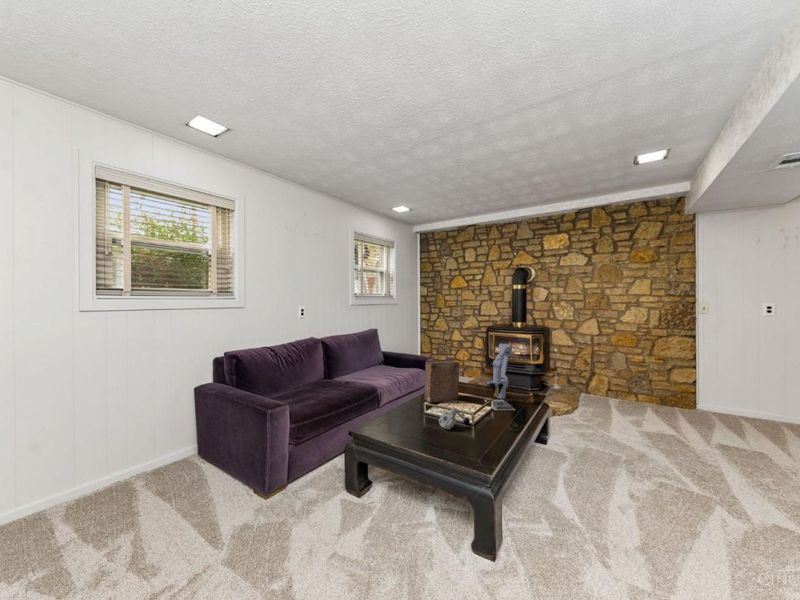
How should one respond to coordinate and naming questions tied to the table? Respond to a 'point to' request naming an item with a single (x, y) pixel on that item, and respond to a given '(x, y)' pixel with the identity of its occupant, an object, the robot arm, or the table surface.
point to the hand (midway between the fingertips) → (496, 393)
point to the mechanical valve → (451, 419)
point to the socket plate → (501, 405)
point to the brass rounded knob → (496, 391)
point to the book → (441, 381)
